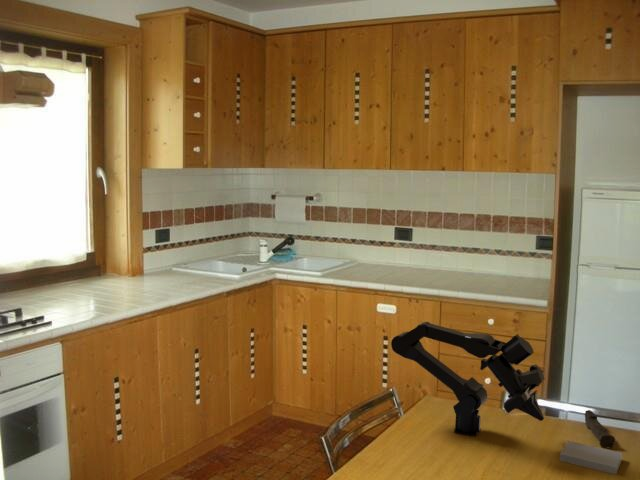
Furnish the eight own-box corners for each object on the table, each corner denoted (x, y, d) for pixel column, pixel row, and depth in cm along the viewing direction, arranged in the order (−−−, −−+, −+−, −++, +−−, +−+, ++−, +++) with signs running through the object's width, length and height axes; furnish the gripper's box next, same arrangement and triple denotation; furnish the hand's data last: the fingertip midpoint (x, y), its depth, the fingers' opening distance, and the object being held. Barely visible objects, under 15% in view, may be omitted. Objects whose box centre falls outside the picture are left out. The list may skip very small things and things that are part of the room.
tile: (560, 453, 179) (616, 467, 172) (568, 440, 188) (622, 453, 180) (559, 461, 180) (615, 476, 172) (567, 448, 188) (621, 461, 181)
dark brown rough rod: (614, 449, 188) (616, 433, 187) (599, 448, 188) (601, 432, 188) (595, 423, 206) (596, 408, 206) (581, 422, 207) (582, 407, 206)
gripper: (518, 366, 178) (558, 415, 174) (535, 350, 194) (572, 394, 190) (487, 388, 183) (525, 436, 179) (506, 370, 199) (542, 414, 195)
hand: (542, 419), depth 186 cm, fingers closed
